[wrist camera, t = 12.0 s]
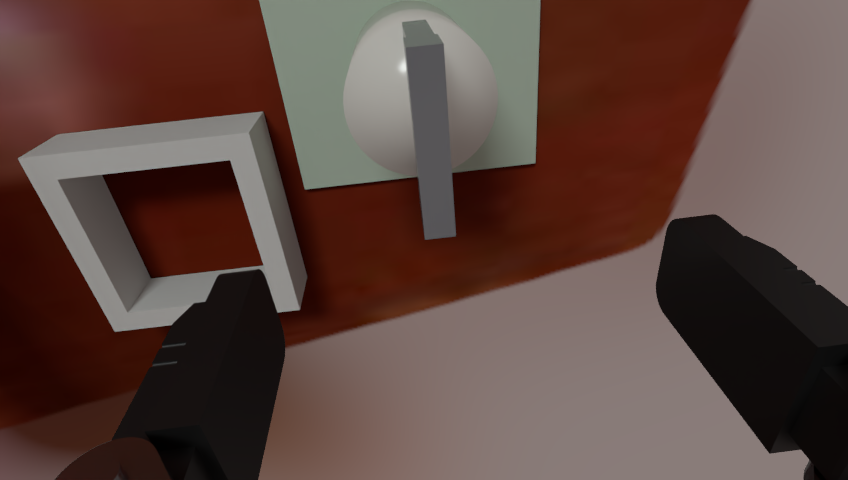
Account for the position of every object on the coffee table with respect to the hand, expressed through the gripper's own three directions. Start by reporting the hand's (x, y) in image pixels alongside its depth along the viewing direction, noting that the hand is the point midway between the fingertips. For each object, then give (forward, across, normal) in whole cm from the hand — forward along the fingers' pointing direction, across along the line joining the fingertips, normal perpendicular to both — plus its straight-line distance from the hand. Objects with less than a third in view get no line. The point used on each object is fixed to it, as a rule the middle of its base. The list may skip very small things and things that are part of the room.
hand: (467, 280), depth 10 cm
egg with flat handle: (+23, 0, +1) cm, 23 cm away
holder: (+24, +16, +9) cm, 30 cm away
